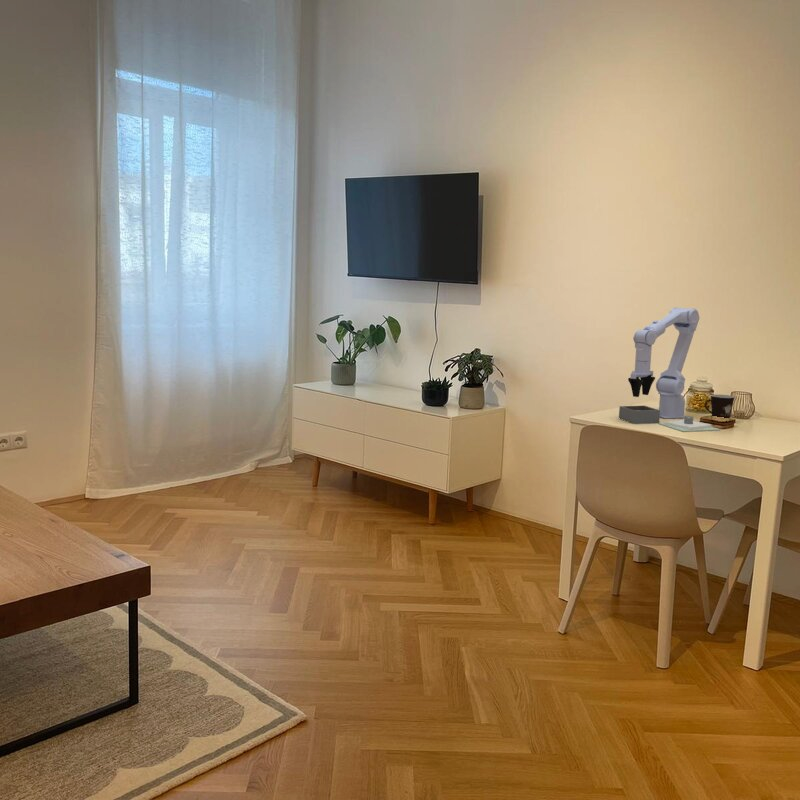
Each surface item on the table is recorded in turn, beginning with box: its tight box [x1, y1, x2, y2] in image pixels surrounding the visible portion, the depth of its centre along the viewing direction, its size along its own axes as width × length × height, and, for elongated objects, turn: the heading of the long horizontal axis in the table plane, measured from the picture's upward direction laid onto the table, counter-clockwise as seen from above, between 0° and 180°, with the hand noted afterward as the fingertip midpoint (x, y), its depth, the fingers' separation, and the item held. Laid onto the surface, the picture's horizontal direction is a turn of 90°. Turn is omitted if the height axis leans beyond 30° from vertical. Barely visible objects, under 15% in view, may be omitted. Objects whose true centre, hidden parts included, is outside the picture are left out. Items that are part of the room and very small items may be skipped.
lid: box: [664, 415, 713, 430], centre depth 315 cm, size 12×12×4 cm
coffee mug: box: [704, 394, 735, 419], centre depth 328 cm, size 12×9×10 cm
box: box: [618, 405, 661, 425], centre depth 325 cm, size 11×11×5 cm
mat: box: [657, 422, 721, 433], centre depth 315 cm, size 16×16×1 cm
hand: (640, 395), depth 324 cm, fingers open, 7 cm apart
